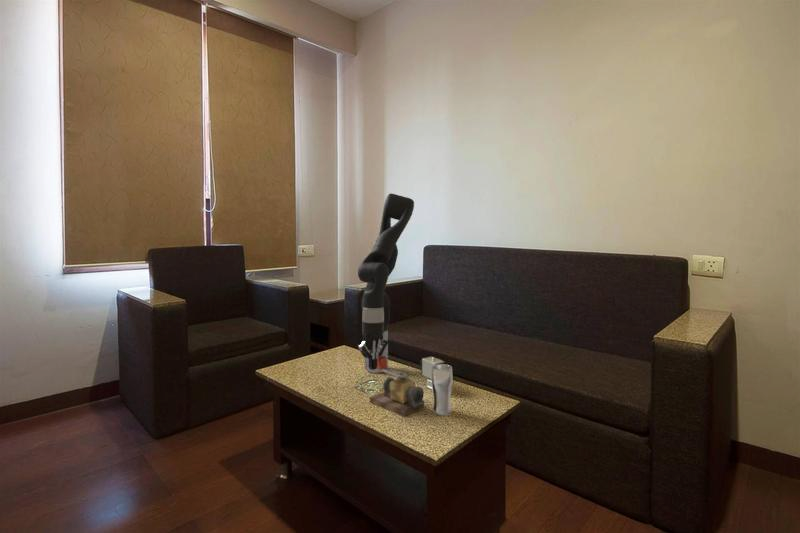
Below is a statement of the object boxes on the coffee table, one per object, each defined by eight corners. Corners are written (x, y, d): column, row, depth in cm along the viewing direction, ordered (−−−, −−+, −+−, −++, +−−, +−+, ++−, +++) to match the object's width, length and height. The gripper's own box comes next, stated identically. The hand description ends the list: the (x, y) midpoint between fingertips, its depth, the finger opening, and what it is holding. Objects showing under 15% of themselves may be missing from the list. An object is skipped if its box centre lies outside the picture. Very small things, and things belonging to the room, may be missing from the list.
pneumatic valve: (438, 394, 154) (438, 362, 153) (419, 385, 164) (419, 354, 163) (450, 391, 158) (450, 359, 156) (430, 382, 167) (430, 352, 166)
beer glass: (434, 405, 145) (434, 362, 144) (454, 408, 142) (455, 365, 141) (428, 414, 138) (428, 369, 137) (449, 417, 136) (449, 371, 135)
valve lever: (409, 377, 144) (409, 364, 144) (403, 379, 142) (402, 366, 142) (380, 367, 155) (379, 355, 154) (373, 369, 152) (373, 356, 152)
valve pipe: (370, 402, 148) (369, 376, 147) (390, 394, 155) (390, 368, 154) (406, 417, 136) (406, 388, 135) (426, 407, 143) (426, 380, 143)
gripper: (366, 324, 140) (366, 375, 141) (394, 318, 150) (393, 367, 151) (351, 321, 146) (351, 370, 147) (379, 316, 155) (379, 363, 156)
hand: (372, 369), depth 149 cm, fingers closed
